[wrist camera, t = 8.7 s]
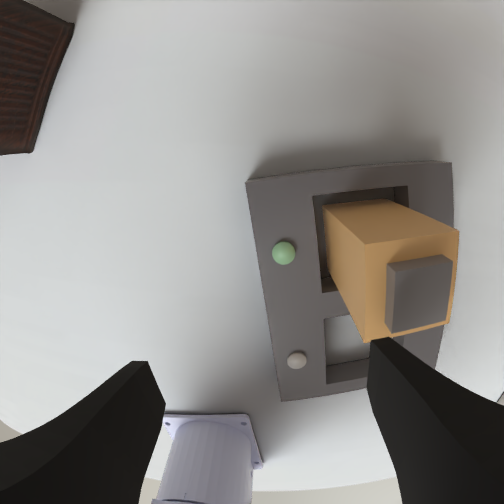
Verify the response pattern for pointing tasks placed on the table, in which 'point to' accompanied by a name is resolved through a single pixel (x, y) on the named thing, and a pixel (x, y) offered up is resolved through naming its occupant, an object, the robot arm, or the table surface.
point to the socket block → (308, 269)
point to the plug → (391, 266)
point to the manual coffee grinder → (27, 70)
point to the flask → (501, 400)
